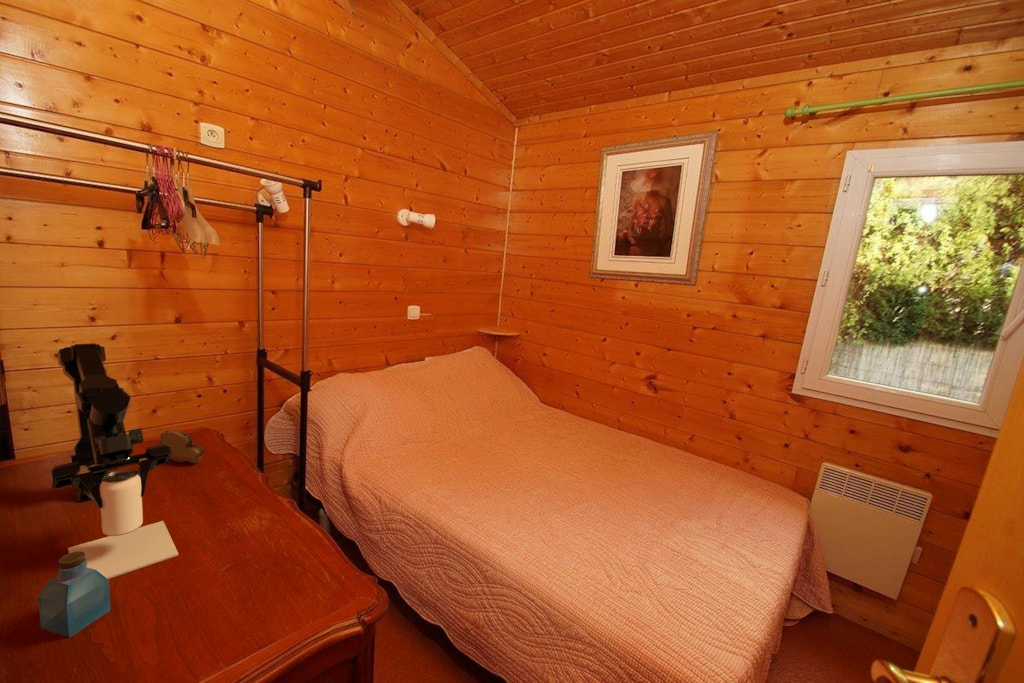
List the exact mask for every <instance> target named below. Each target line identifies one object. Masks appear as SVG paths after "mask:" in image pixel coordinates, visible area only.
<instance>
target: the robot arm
mask: <svg viewBox="0 0 1024 683" xmlns="http://www.w3.org/2000/svg"><path fill="white" fill-rule="evenodd" d="M106 361H107V357H106V349H105V346H103V345H102V346H101V345H100V343H98V344H97V343H96V342H95V343H94V342H91V343H89V342H88V343H75V344H73V345H70V346H68V347H67V346H66V347H63V348H60V349H58V351H57V363H58V366H59V367H60V366H61V367H62V368H61V369H62V373H63V374H64V375H65V376H66V377H67V378H68V379H70V381H72V384H73V391H74V392H73V393H74V400H75V408H76V416H77V423H78V432H79V438H78V440H77V442H76V443H75V445H74V446H73V448H72V455H70V457H69V463H63V464H57V465H54V466H53V467H52V468H51V470H50V487H51V490H52V489H53V490H57V489H61V488H65V487H70V489H78V490H77V491H76V495H77V500H78V501H77V502H80V503H82V502H84V501H85V502H86V501H90V500H91V501H92V502H93V504H95V506H96V507H97V508H98V509H100V510H101V508H102V501H101V497H100V485H101V483H102V478H103V477H104V476H105V475H107V474H109V473H110V471H118V469H120V468H124V467H129V466H134V465H137V466H138V468H137V471H138V475H139V476H140V478H141V497H142V498H143V497H144V496H145V490H146V485H147V479H148V475H149V472H151V471H153V470H154V469H155V467H158V466H162V465H165V464H168V463H169V460H170V456H171V454H172V453H171V449H170V446H168V445H167V444H162V445H157V444H156V445H151V446H149V447H146V450H145V452H144V453H140V454H136V455H135V454H134V455H131V454H133V452H134V445H140V444H143V443H144V435H143V431H142V428H134V429H130V430H129V431H128V434H127V432H126V427H125V422H124V420H125V418H126V415H127V412H128V408H129V405H130V402H131V395H130V394H129V393H127V391H125V390H124V388H123V387H120V386H119V384H118V381H117V379H114V378H113V377H109V376H108V374H107V371H106V369H105V366H104V363H105V362H106Z"/></svg>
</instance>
